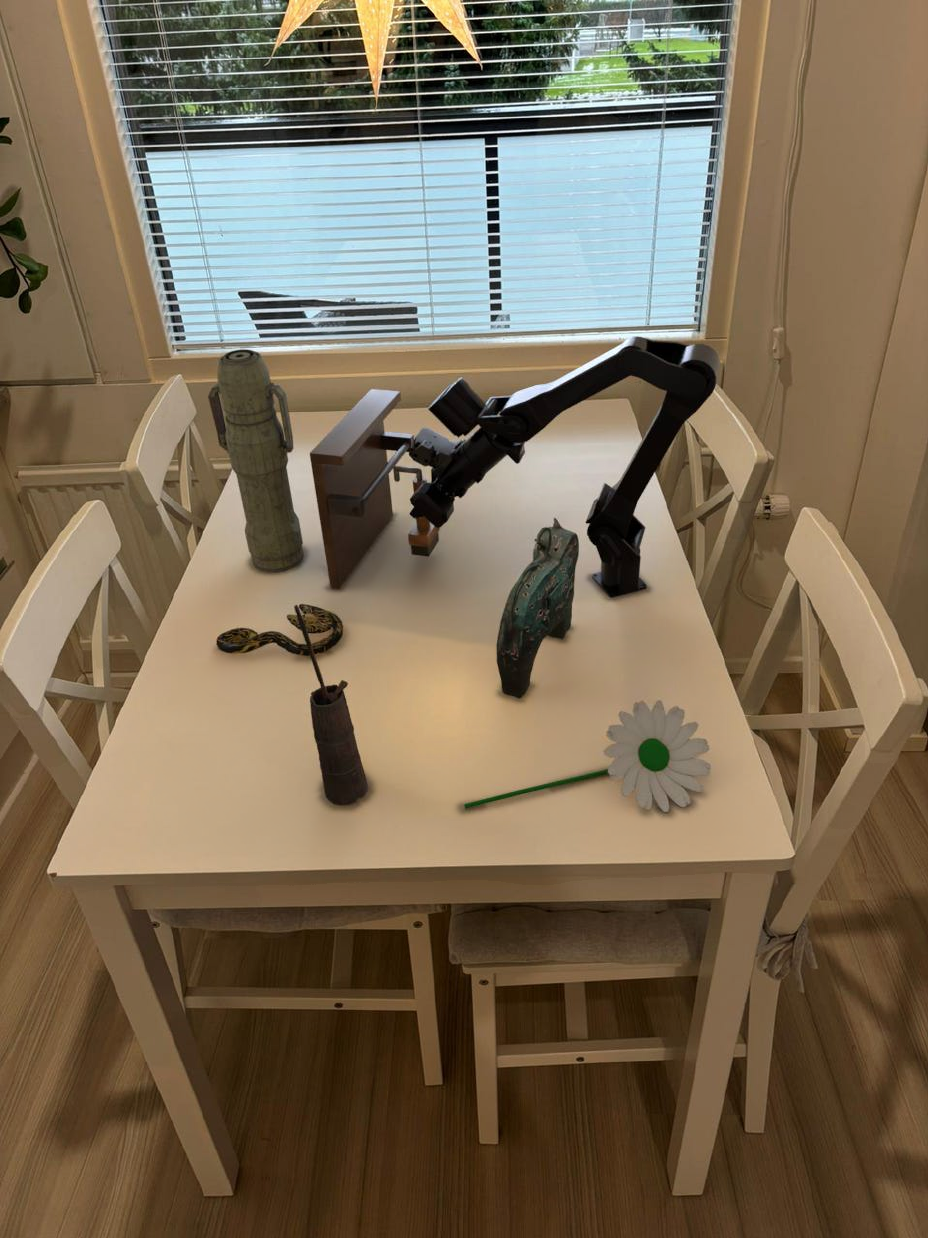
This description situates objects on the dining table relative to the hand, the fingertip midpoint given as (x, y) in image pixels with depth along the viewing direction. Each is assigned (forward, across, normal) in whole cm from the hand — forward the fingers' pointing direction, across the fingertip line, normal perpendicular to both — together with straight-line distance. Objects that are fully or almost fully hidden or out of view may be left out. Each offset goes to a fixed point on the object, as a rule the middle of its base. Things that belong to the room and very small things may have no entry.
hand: (414, 511), depth 149 cm
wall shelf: (+11, 0, +1) cm, 11 cm away
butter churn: (0, +50, +13) cm, 52 cm away
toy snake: (+15, +26, -2) cm, 30 cm away
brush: (+5, 0, +5) cm, 7 cm away
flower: (-20, +43, +32) cm, 57 cm away
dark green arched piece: (-12, +21, +24) cm, 35 cm away
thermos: (+22, +6, -10) cm, 25 cm away
